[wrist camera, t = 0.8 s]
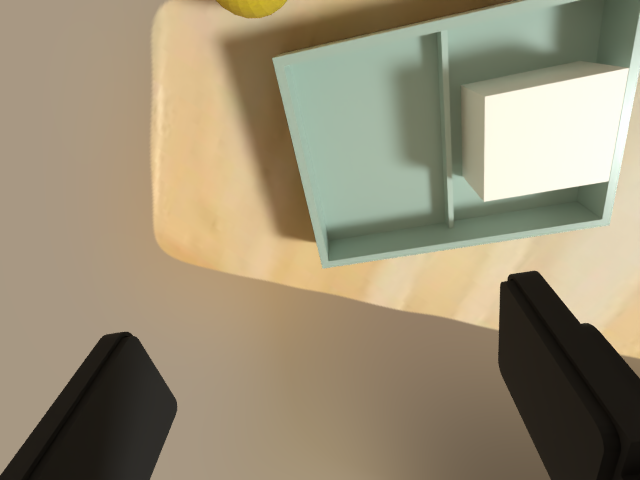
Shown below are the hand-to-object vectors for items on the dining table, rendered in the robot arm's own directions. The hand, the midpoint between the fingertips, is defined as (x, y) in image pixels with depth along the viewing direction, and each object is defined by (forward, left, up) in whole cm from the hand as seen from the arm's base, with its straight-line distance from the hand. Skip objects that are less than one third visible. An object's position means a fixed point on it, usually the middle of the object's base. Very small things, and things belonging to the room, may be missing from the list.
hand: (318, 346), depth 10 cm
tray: (+2, +9, -23) cm, 24 cm away
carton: (+2, +14, -22) cm, 26 cm away
